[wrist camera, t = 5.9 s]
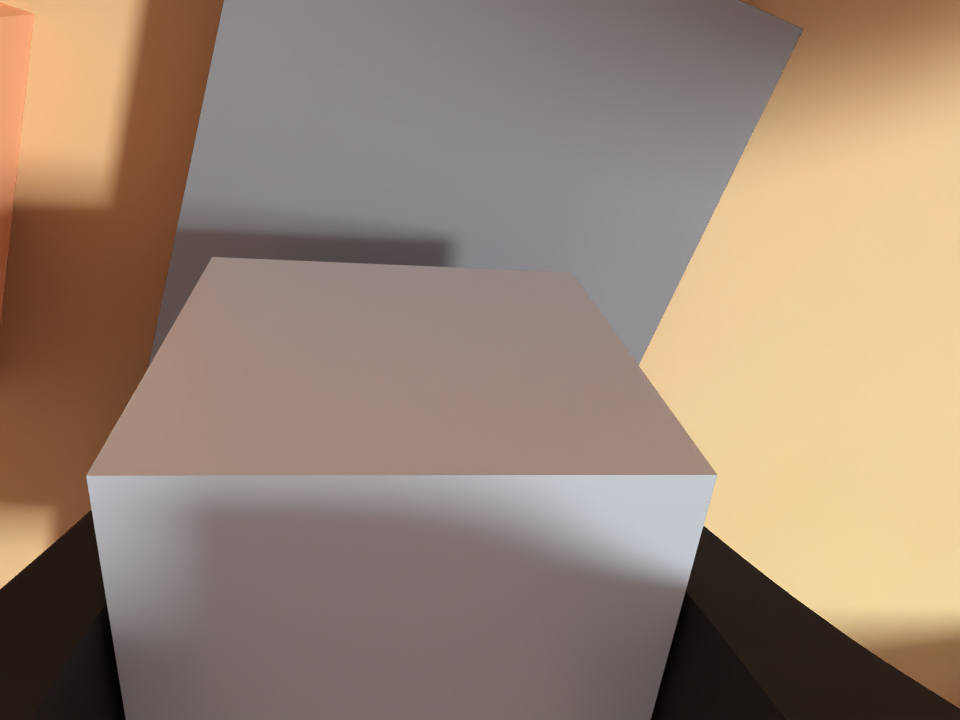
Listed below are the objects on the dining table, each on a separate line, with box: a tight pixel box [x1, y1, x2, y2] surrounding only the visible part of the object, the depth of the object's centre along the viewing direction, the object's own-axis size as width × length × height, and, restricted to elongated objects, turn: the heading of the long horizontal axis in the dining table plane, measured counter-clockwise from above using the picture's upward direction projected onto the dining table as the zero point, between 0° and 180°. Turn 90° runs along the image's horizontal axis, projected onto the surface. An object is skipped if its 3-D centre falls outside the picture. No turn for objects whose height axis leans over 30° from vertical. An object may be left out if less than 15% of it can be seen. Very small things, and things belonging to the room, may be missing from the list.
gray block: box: [148, 0, 803, 368], centre depth 12 cm, size 7×14×1 cm, turn 160°
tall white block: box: [86, 257, 717, 720], centre depth 8 cm, size 4×6×4 cm
